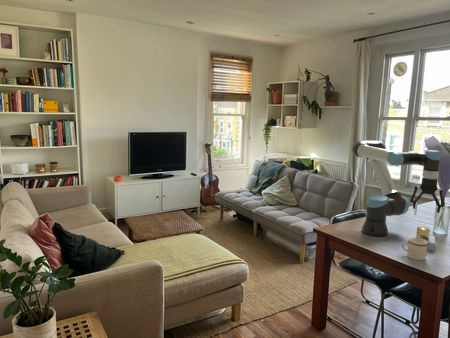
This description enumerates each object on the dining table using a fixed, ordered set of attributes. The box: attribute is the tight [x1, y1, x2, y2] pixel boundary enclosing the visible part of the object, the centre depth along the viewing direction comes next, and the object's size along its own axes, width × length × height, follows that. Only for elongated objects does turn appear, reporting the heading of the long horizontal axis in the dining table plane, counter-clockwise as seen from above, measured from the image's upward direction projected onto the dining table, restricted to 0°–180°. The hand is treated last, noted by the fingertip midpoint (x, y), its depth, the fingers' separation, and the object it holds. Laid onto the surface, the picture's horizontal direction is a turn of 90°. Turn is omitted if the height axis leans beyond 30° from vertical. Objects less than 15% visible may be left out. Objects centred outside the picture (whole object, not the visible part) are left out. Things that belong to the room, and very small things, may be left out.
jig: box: [409, 232, 436, 252], centre depth 194 cm, size 12×12×4 cm
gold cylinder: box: [416, 226, 431, 240], centre depth 194 cm, size 6×6×10 cm
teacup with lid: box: [401, 236, 428, 261], centre depth 178 cm, size 12×9×12 cm
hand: (425, 216), depth 191 cm, fingers open, 9 cm apart
